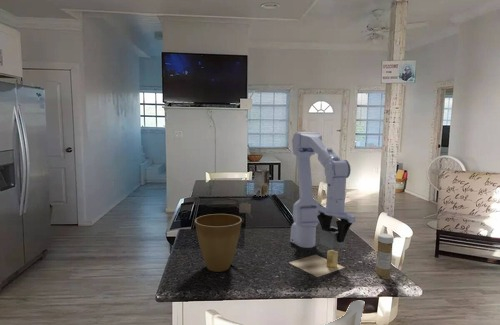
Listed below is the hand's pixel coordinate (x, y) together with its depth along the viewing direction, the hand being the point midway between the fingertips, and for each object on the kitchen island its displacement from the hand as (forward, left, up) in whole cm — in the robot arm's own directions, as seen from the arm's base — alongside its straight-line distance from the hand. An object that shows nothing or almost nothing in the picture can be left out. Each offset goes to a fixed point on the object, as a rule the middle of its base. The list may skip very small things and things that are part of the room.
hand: (333, 238), depth 113 cm
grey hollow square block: (0, 0, -2) cm, 2 cm away
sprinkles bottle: (+13, +9, -10) cm, 19 cm away
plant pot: (-21, -31, -10) cm, 39 cm away
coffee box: (-102, +50, -10) cm, 115 cm away
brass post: (0, 0, -10) cm, 10 cm away
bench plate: (-3, -4, -10) cm, 11 cm away
